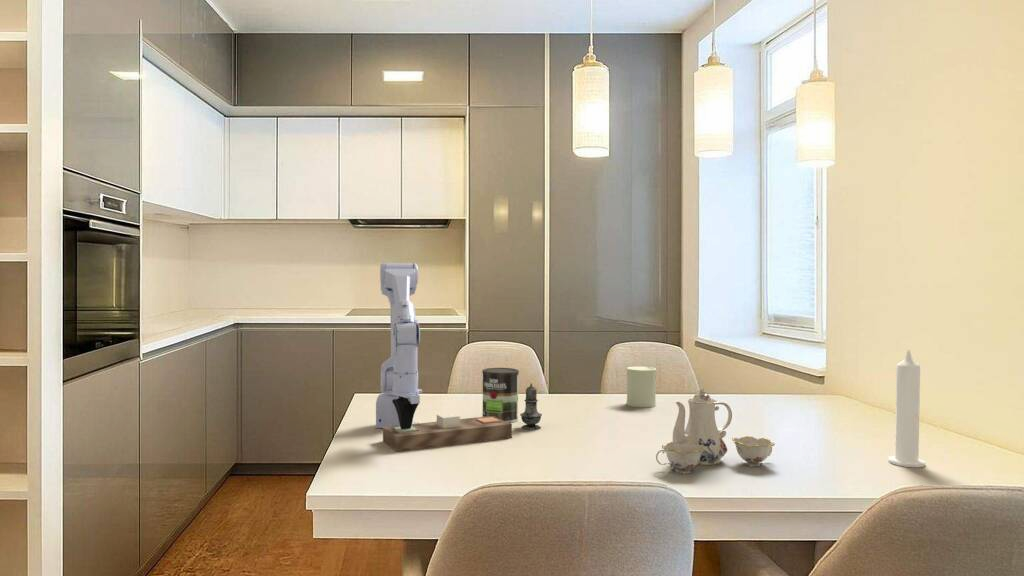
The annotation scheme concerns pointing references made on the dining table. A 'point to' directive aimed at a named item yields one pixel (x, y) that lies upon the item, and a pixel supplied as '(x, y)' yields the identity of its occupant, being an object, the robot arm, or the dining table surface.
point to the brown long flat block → (446, 434)
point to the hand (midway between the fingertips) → (405, 428)
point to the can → (641, 386)
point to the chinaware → (708, 438)
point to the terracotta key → (488, 420)
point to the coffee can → (500, 393)
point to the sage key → (405, 430)
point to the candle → (907, 414)
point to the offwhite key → (448, 420)
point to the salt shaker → (531, 410)
